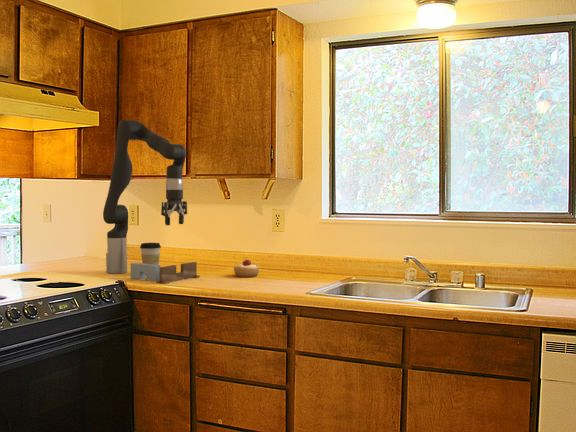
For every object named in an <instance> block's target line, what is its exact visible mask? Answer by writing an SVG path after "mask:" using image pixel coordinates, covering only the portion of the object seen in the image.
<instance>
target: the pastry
mask: <svg viewBox="0 0 576 432" xmlns="http://www.w3.org/2000/svg"><path fill="white" fill-rule="evenodd" d="M233 272H234V274H235V276H236V277H237V278H238V277H239V278H254V277H257V276H258V275H259V273H260V266H259V265H258V264H253V263H252V262H251V260H250V259H248V258H247V257H246V258H244V260H243V262H242V263H239V264H236V265H235V266H233Z"/></svg>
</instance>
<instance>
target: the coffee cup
mask: <svg viewBox="0 0 576 432" xmlns="http://www.w3.org/2000/svg"><path fill="white" fill-rule="evenodd" d="M139 248H140V252H141V254H140V255H141V263H144V264H154V265H160V256H161V253H160V252H161V248H162V246H161V244H160V242H143V243H141V244H140V247H139ZM145 276H146V272H145Z"/></svg>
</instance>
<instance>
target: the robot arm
mask: <svg viewBox="0 0 576 432" xmlns="http://www.w3.org/2000/svg"><path fill="white" fill-rule="evenodd" d="M129 140H131V141H142V142H145V144H146V145H147V146H148V147H149V148H150V149H151V150H153V151H154V152H157V153H159V154H160V155H161V157H163V158H164V159H165V160H166V159H167V160H169V161H170V160H173V162H172V164H170V165H168V166H167V167H166V181H165V199H166V200H167V201H162V202H161V208H160V209H161V210H160V212H161V213H160V215H161V216H162V217H164V224H165V226H171V217H170V216H171V215H172V214H173V213H174V212H176V213H177V214H178V224H179V225H184V223H185V216H186V215H188V203H187V201H183V199H184V182H183V169H184V166H185V163H186V158H187V150H186V147H185V146H184V145H183V144H181V143H171V142H170V141H169V140H168V139H167V138H165V137H163V136H162V135H159V134H157V133H155V132H153V130H151V129H149V128H148V127H147V126H145V124H143V123H142V122H140V121H138V120H136V119H135V120H132V119H122V120H120V121H119V123H118V126H117V129H116V141H115V142H116V143H115V152H114V159H113V165H112V169H111V174H110V176H111V177H110V182H109V187H108V192H107V196H106V200H105V203H104V207H103V211H102V217H103V221H104V222H105V224H108V225H114V226H113V228H112V229H111V230H109V231H107V233H106V240H107V241H106V242H107V243H106V244H107V251H106V253H105V261H106V262H105V263H106V264H105V266H106V273H108V274H125V273H127V272H128V244H127V243H128V238H127V236H128V233H129V232H128V230H129V211H128V208H127V206H126V205H124V204H118V203H119V201H120V197H122V194H123V192H124V191H125V190H126V189H127V187H128V186H129V184H130V182H131V179H132V174H133V167H134V166H133V163H132V160H131V158H130V155H129V152H128V151H129V149H128V148H129Z"/></svg>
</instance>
